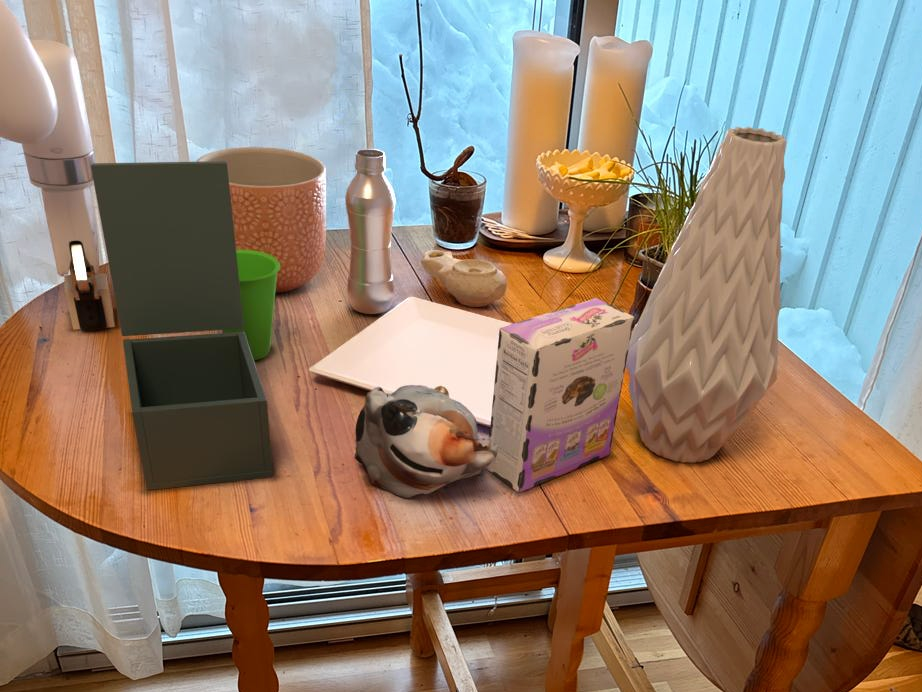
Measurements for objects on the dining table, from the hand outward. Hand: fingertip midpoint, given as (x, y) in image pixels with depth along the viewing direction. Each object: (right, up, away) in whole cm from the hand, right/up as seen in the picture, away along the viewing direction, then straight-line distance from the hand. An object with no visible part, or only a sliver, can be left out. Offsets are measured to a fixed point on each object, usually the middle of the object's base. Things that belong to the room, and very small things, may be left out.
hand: (92, 316), depth 122 cm
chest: (+20, -20, -19) cm, 34 cm away
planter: (+19, +10, +14) cm, 26 cm away
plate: (+46, -8, -2) cm, 47 cm away
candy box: (+57, -22, -17) cm, 64 cm away
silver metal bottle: (+35, +4, +9) cm, 36 cm away
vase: (+73, -19, -11) cm, 76 cm away
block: (0, 0, 0) cm, 1 cm away
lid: (+19, -2, -26) cm, 32 cm away
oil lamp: (+47, +8, +15) cm, 50 cm away
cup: (+21, -6, -3) cm, 22 cm away
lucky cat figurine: (+44, -24, -21) cm, 54 cm away
